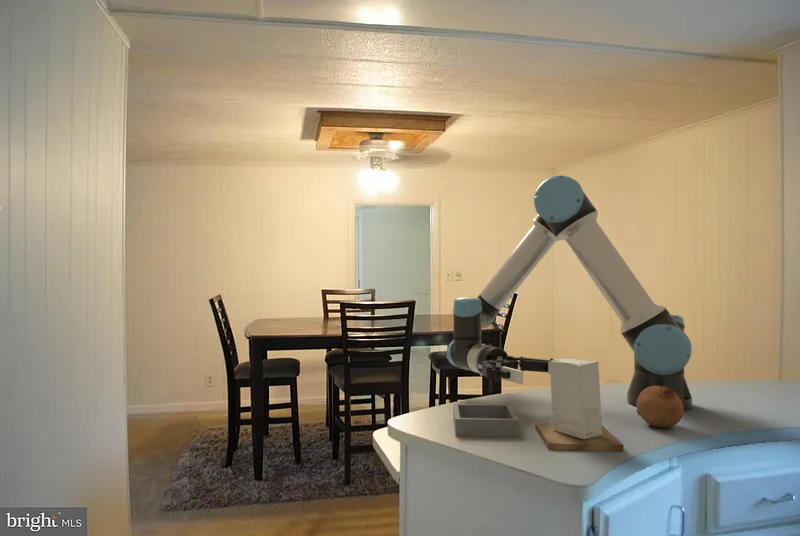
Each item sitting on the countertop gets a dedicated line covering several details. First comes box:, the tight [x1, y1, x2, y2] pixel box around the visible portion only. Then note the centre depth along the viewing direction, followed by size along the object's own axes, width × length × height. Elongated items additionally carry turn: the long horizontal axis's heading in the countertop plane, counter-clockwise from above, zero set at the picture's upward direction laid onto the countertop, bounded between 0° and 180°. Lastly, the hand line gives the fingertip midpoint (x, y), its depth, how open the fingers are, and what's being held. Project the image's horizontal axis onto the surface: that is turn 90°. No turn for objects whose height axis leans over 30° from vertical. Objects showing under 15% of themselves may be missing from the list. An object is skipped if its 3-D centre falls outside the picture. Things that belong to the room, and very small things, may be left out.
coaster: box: [534, 422, 625, 452], centre depth 108 cm, size 14×14×1 cm
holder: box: [452, 403, 520, 438], centre depth 116 cm, size 13×13×4 cm
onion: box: [636, 386, 685, 429], centre depth 118 cm, size 10×9×10 cm
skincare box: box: [549, 357, 603, 439], centre depth 108 cm, size 8×6×15 cm
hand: (546, 374), depth 116 cm, fingers open, 13 cm apart
